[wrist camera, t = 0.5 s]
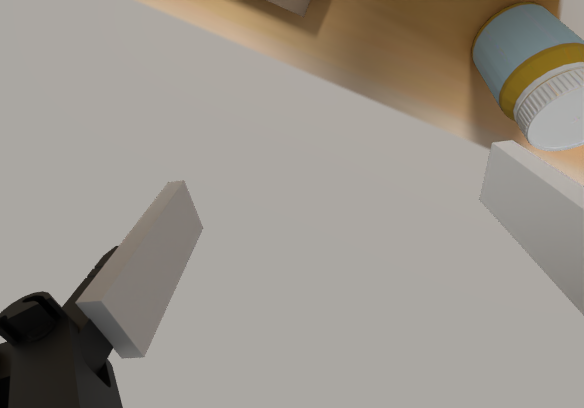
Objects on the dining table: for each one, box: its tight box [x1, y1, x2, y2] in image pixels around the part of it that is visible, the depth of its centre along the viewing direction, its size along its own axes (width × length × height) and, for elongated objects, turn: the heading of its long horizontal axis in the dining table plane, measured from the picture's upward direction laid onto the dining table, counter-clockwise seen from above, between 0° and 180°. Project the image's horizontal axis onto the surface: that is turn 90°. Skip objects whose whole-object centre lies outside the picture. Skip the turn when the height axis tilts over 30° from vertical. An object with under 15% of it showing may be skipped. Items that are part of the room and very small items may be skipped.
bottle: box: [472, 2, 584, 151], centre depth 28 cm, size 7×7×15 cm
